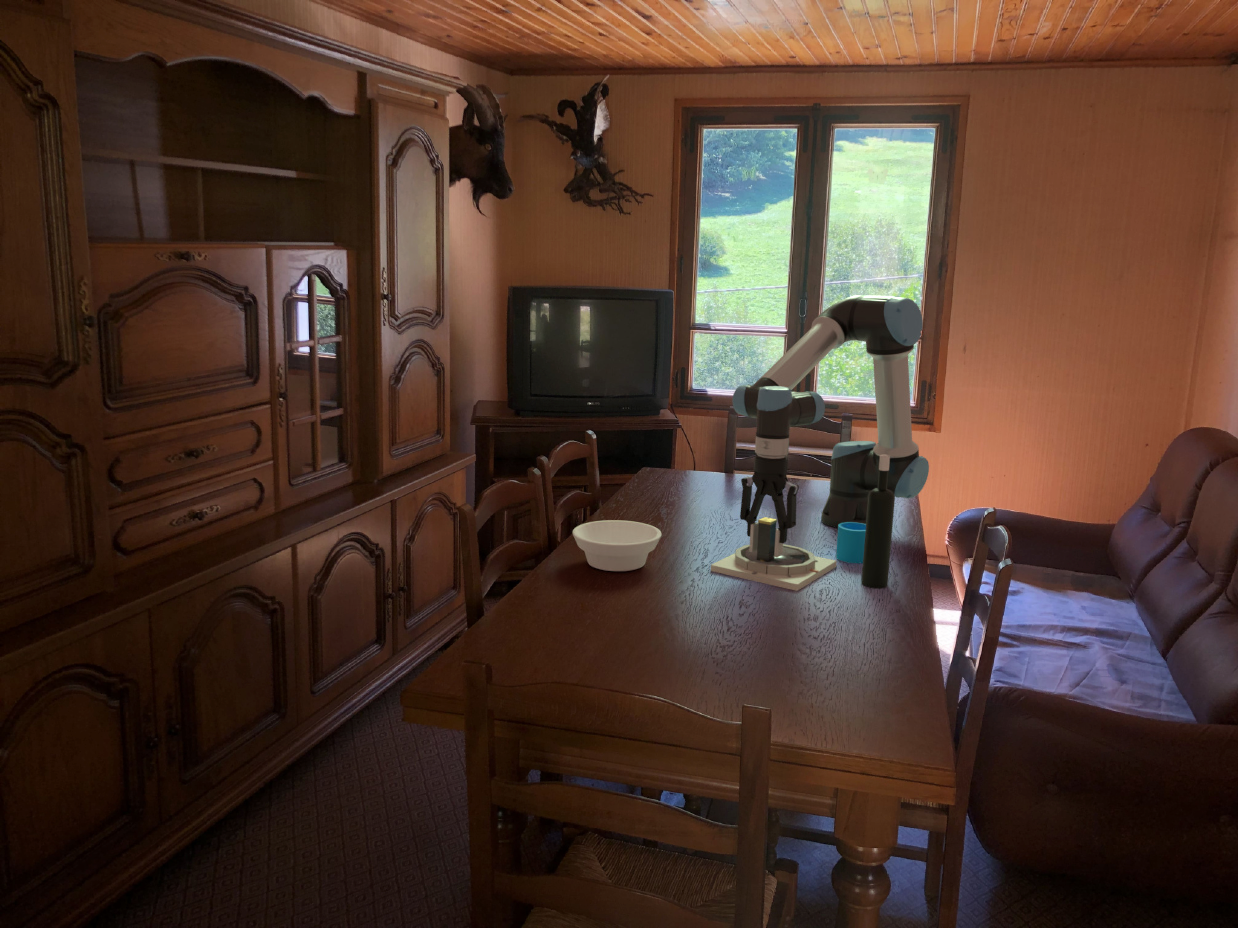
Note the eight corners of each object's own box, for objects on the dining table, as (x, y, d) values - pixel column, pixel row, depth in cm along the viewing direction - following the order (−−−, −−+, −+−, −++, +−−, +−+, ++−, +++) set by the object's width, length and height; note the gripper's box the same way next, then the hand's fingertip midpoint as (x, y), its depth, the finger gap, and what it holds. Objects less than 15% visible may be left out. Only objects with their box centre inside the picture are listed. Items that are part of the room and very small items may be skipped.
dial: (761, 548, 237) (763, 504, 234) (814, 559, 229) (817, 514, 226) (734, 562, 225) (736, 516, 223) (788, 574, 218) (791, 526, 215)
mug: (868, 565, 232) (870, 532, 230) (833, 561, 235) (836, 528, 233) (872, 551, 243) (875, 520, 242) (839, 547, 246) (842, 517, 244)
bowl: (673, 559, 233) (675, 527, 231) (638, 584, 214) (639, 549, 213) (596, 547, 242) (596, 515, 240) (556, 570, 223) (556, 536, 221)
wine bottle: (888, 581, 220) (899, 453, 214) (886, 589, 215) (897, 458, 208) (862, 578, 222) (872, 451, 216) (860, 586, 216) (870, 456, 210)
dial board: (754, 549, 242) (754, 536, 242) (836, 566, 230) (837, 552, 229) (710, 570, 225) (711, 556, 224) (797, 590, 212) (798, 575, 212)
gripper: (727, 452, 220) (722, 549, 225) (802, 463, 209) (796, 564, 214) (742, 447, 226) (737, 542, 231) (816, 458, 215) (809, 556, 220)
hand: (765, 552), depth 222 cm, fingers open, 6 cm apart
